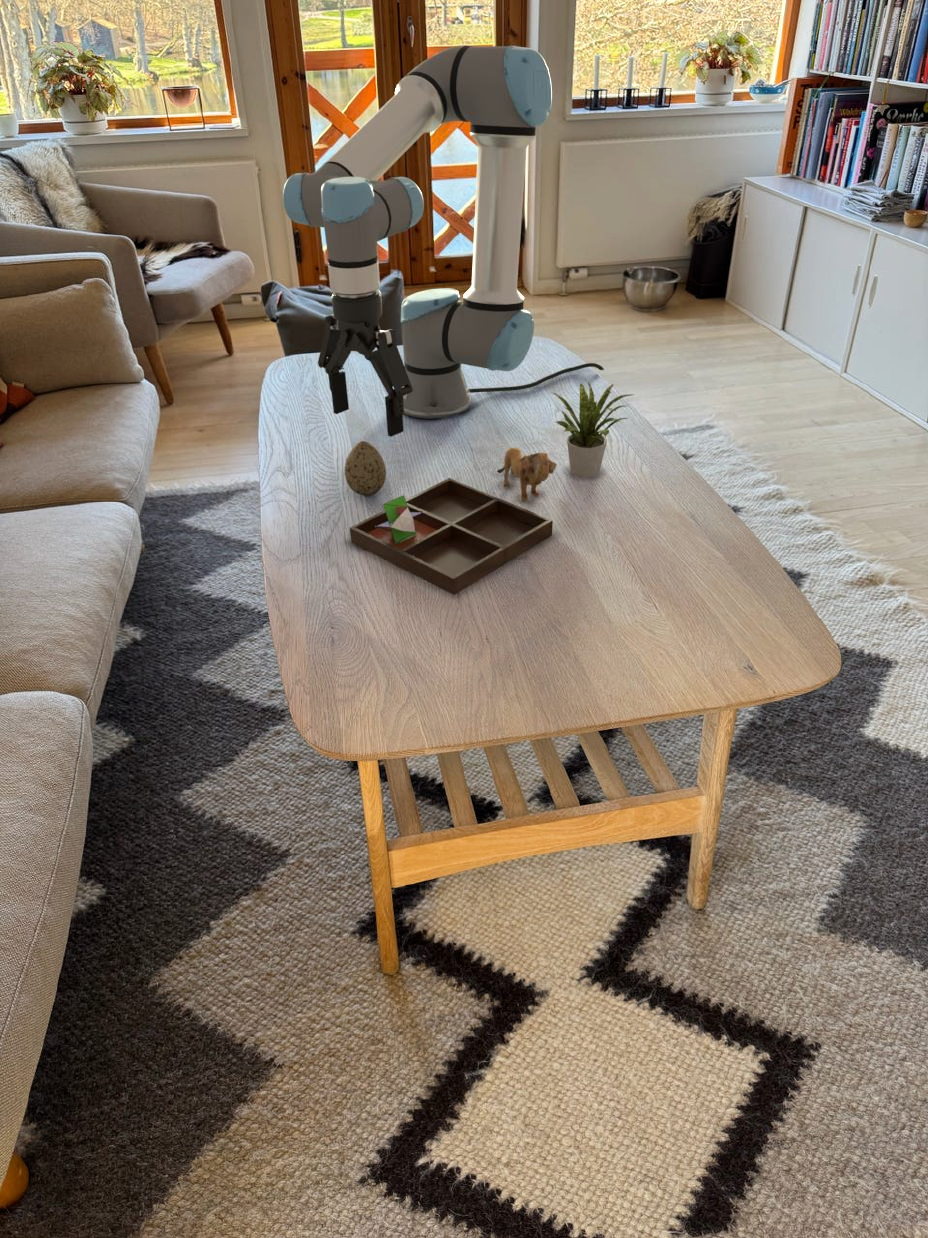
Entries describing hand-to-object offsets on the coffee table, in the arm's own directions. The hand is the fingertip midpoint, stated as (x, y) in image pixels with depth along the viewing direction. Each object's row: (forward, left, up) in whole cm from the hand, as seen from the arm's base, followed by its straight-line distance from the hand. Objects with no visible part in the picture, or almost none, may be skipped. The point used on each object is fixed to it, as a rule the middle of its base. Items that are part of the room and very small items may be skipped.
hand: (367, 422), depth 155 cm
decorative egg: (-1, -3, -15) cm, 15 cm away
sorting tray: (0, +19, -15) cm, 24 cm away
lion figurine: (-20, +17, -15) cm, 30 cm away
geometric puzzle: (+6, +13, -14) cm, 20 cm away
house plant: (-33, +22, -15) cm, 42 cm away
